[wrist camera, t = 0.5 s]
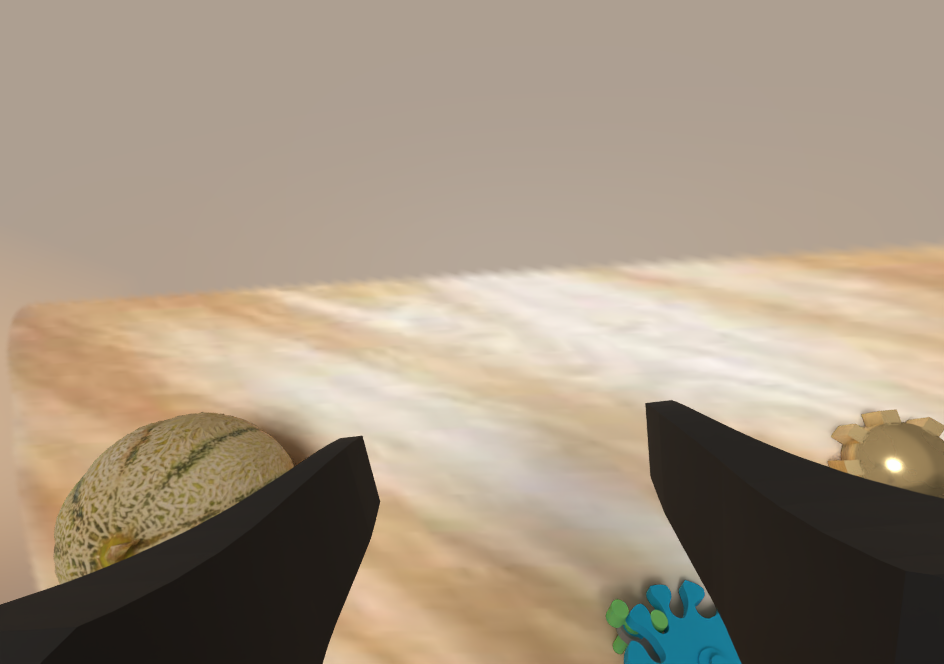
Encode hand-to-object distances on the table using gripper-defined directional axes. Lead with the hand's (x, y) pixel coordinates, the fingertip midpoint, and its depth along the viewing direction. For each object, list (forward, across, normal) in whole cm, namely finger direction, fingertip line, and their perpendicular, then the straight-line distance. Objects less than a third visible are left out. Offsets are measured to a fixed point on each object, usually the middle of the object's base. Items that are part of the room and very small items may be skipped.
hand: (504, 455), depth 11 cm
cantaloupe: (+21, +24, +16) cm, 36 cm away
